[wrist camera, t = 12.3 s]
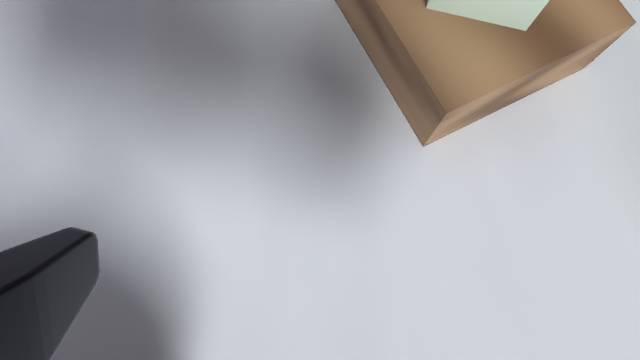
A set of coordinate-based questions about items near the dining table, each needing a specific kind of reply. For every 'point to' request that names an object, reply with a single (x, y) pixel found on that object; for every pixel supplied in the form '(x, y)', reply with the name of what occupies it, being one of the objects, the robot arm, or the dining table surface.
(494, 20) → the sage block
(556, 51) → the walnut base block
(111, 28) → the dining table surface
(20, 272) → the robot arm
